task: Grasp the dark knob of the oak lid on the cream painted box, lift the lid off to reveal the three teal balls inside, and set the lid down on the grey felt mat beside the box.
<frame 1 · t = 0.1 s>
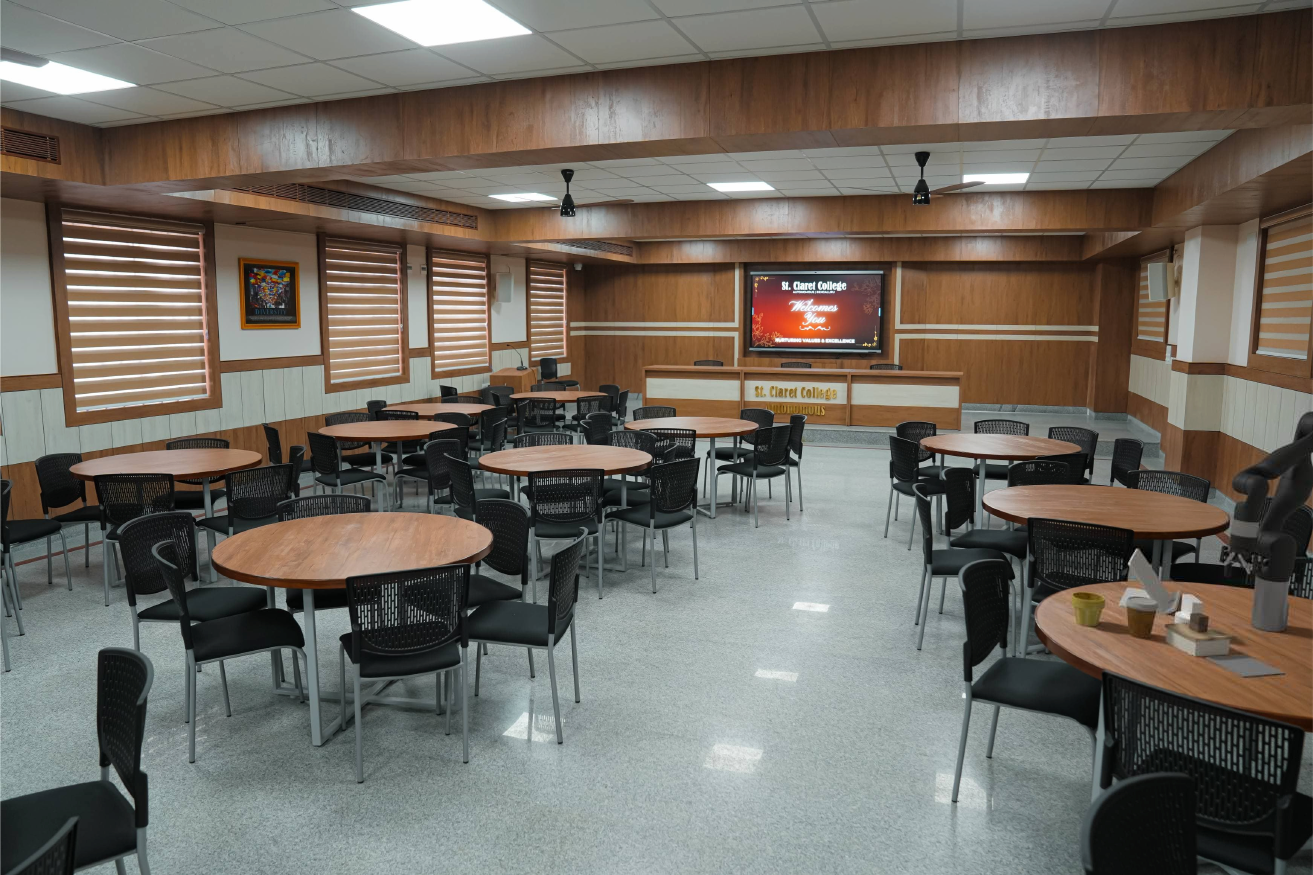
hand: (1238, 580, 284), 17 cm above the table, tool pointing down, fingers open, 8 cm apart
ball 2: (1185, 638, 272), point 3 cm above the table, touching box
lid: (1197, 632, 271), point 5 cm above the table, touching box
ball 1: (1198, 636, 274), point 3 cm above the table, touching box
mat: (1244, 666, 257), on the table
box: (1196, 647, 271), on the table
ball 3: (1204, 643, 268), point 3 cm above the table, touching box
disposable coffee cup: (1139, 635, 282), on the table
plant pot: (1086, 623, 293), on the table
tablet stand: (1150, 602, 315), on the table
white piece: (1189, 633, 284), on the table
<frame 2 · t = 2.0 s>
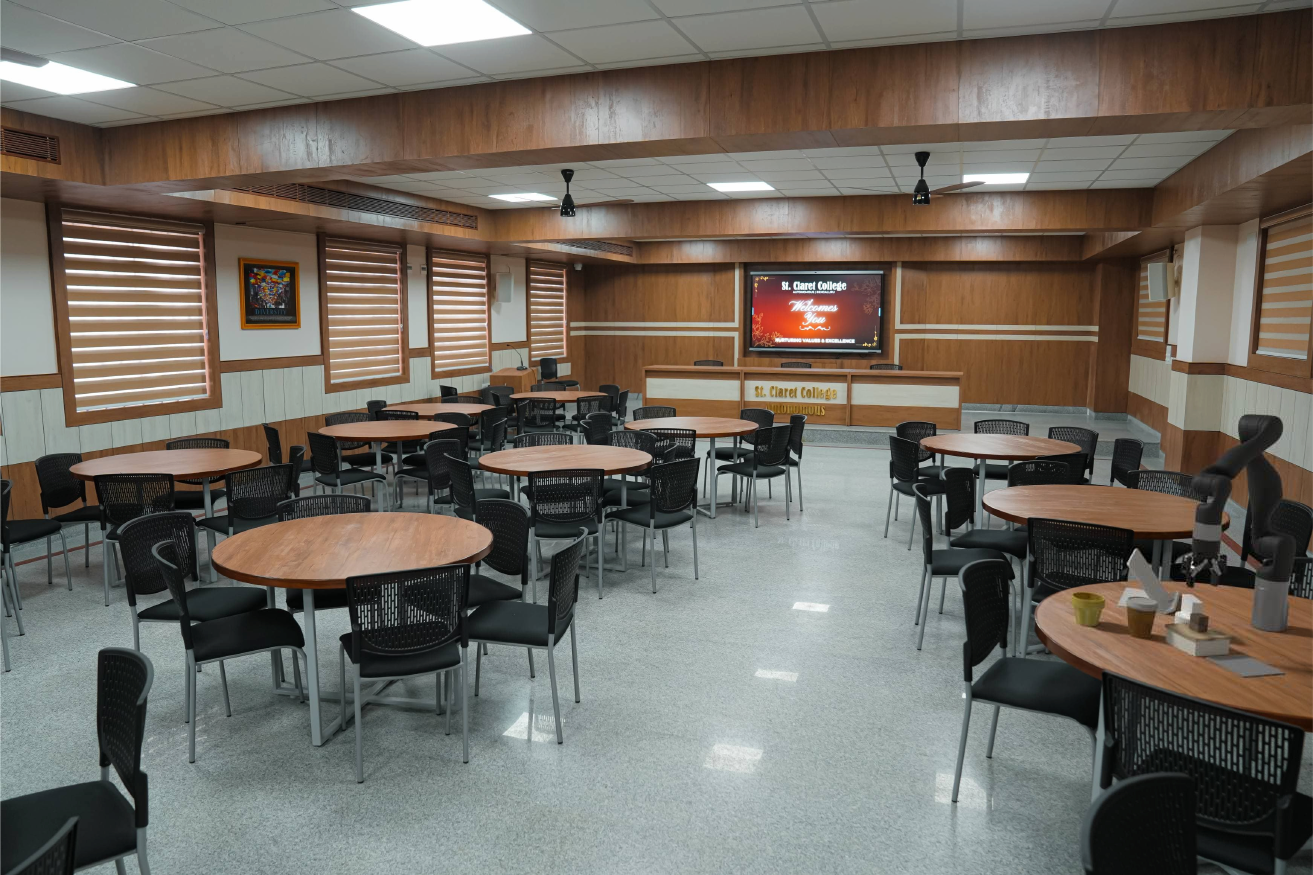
hand: (1202, 586, 268), 20 cm above the table, tool pointing down, fingers open, 8 cm apart
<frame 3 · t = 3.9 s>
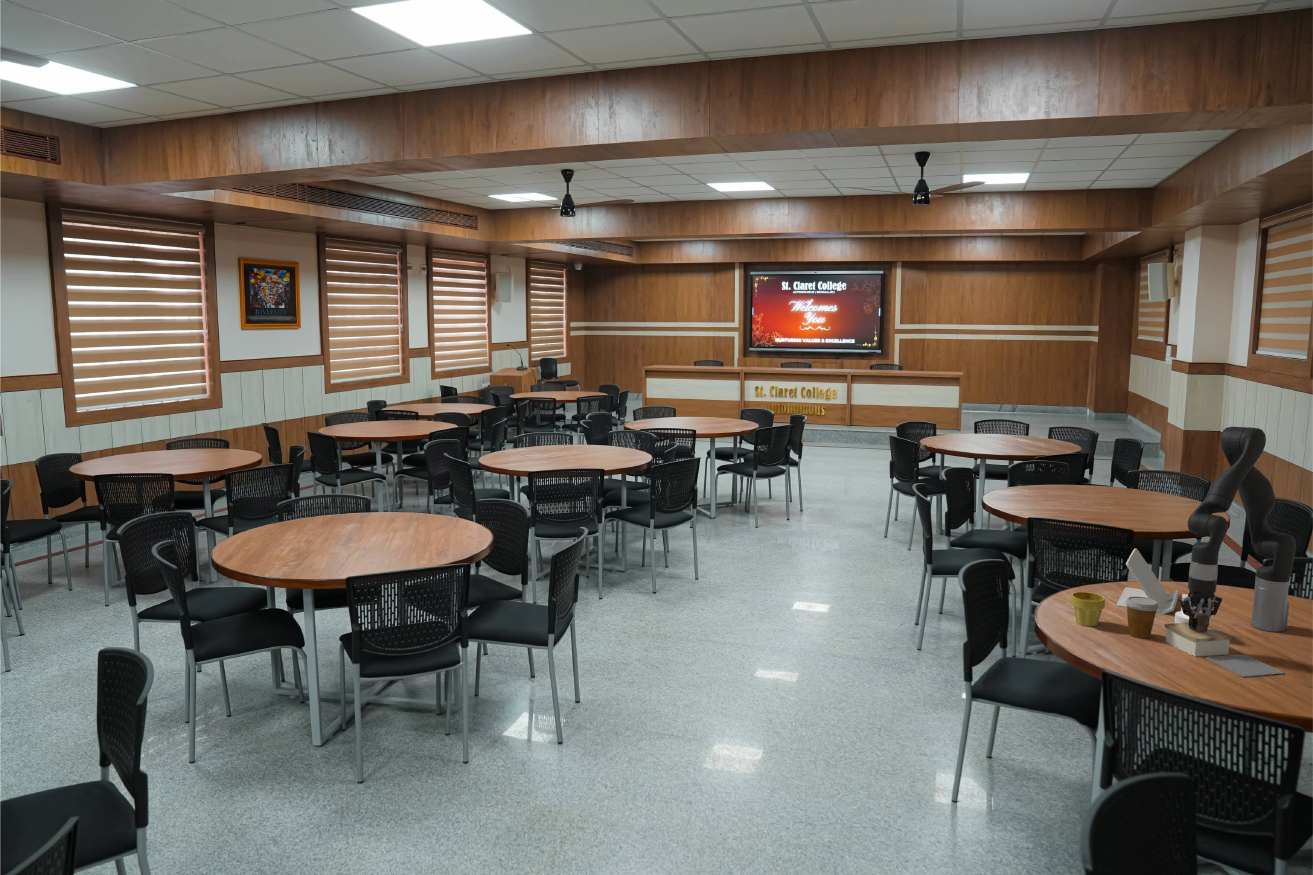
hand: (1198, 627, 270), 7 cm above the table, tool pointing down, fingers closed on lid, 3 cm apart
lid: (1197, 632, 271), point 5 cm above the table, touching box, gripper
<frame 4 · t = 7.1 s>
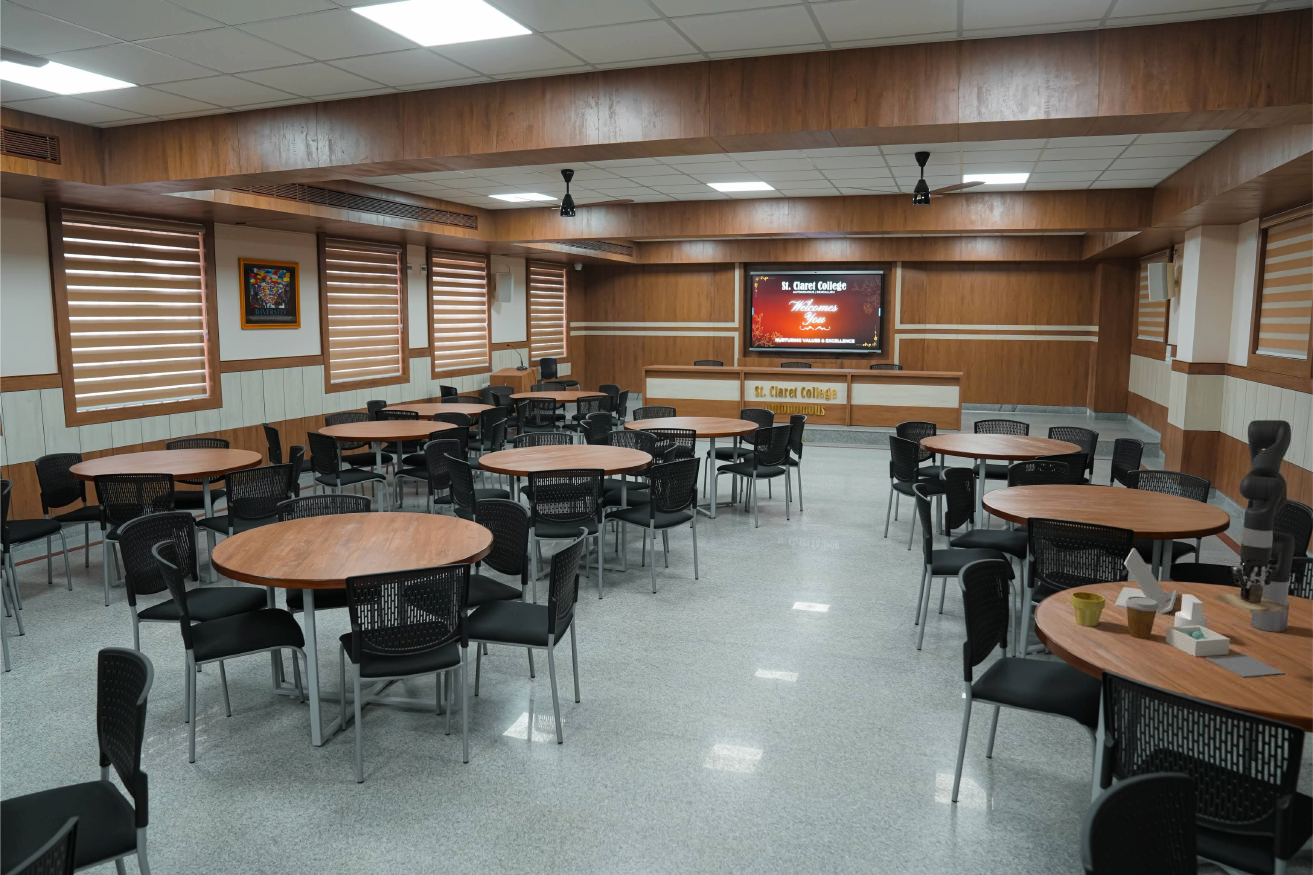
hand: (1250, 598, 254), 21 cm above the table, tool pointing down, fingers closed on lid, 3 cm apart
lid: (1250, 604, 254), point 20 cm above the table, touching gripper
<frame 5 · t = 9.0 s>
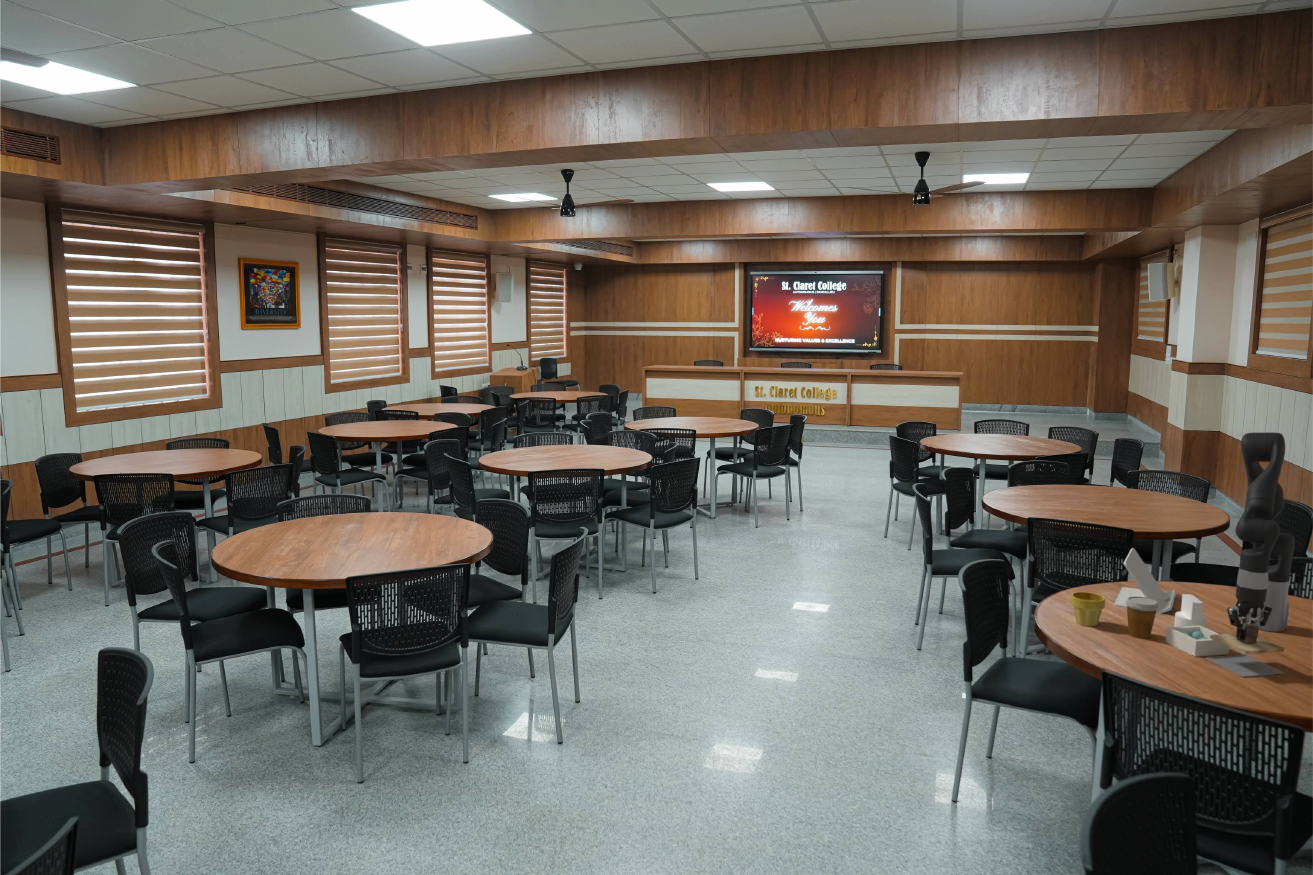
hand: (1246, 639, 256), 9 cm above the table, tool pointing down, fingers closed on lid, 3 cm apart
lid: (1246, 644, 256), point 7 cm above the table, touching gripper
when the fingers open (4 cm above the table, at t = 10.5 s): lid drops 1 cm, resting on mat.
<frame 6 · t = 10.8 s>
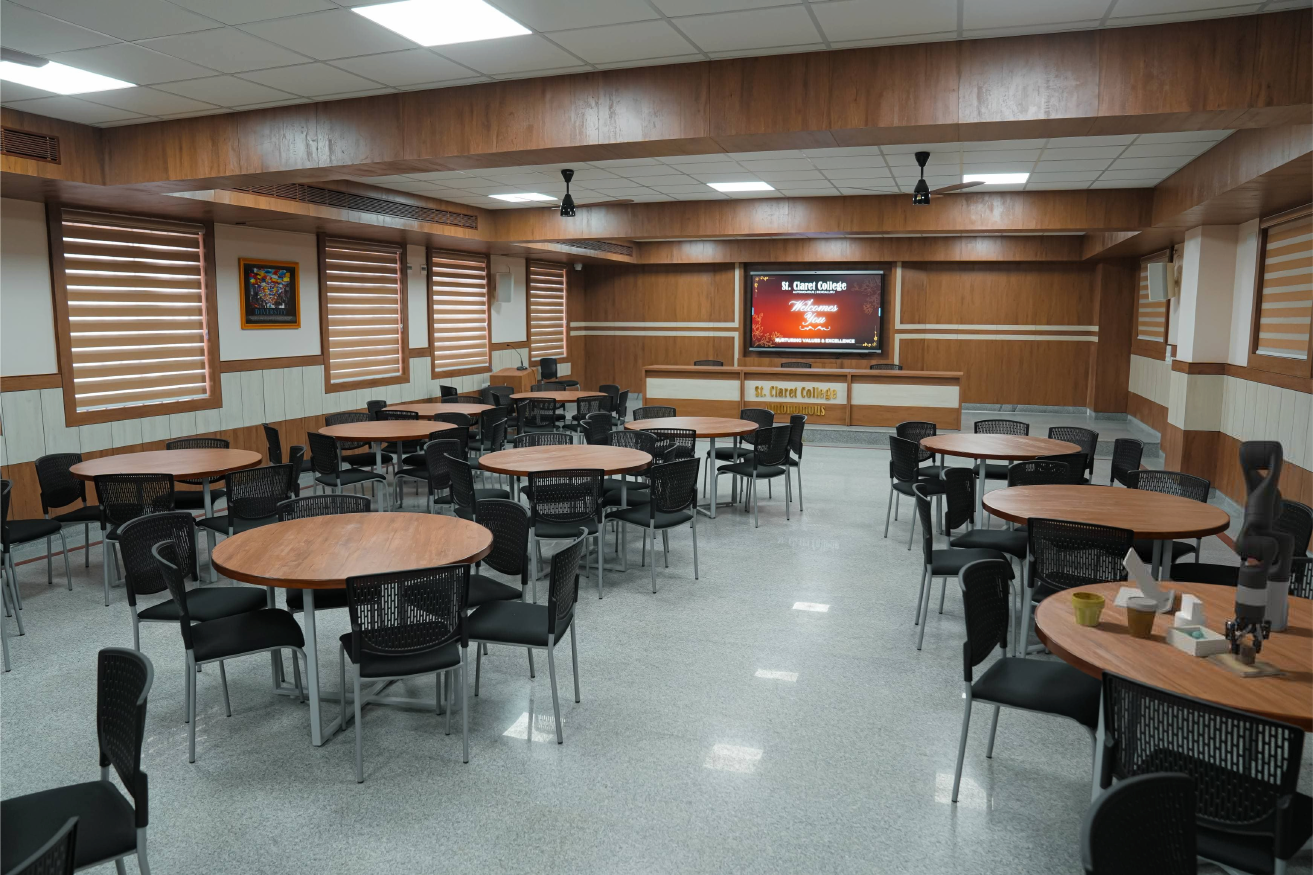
hand: (1245, 653, 257), 4 cm above the table, tool pointing down, fingers open, 6 cm apart
lid: (1244, 664, 257), resting on mat
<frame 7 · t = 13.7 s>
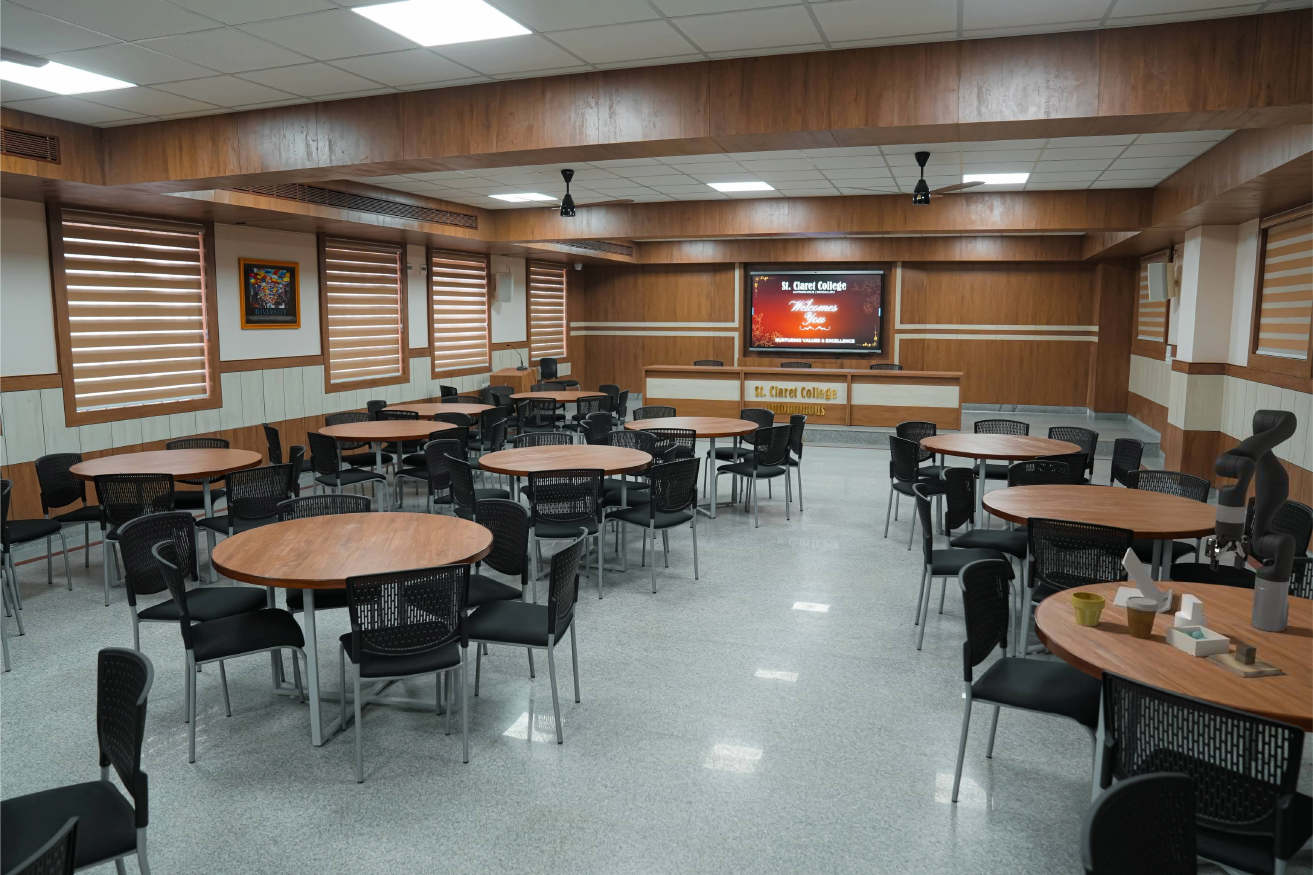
hand: (1226, 569, 266), 26 cm above the table, tool pointing down, fingers open, 8 cm apart
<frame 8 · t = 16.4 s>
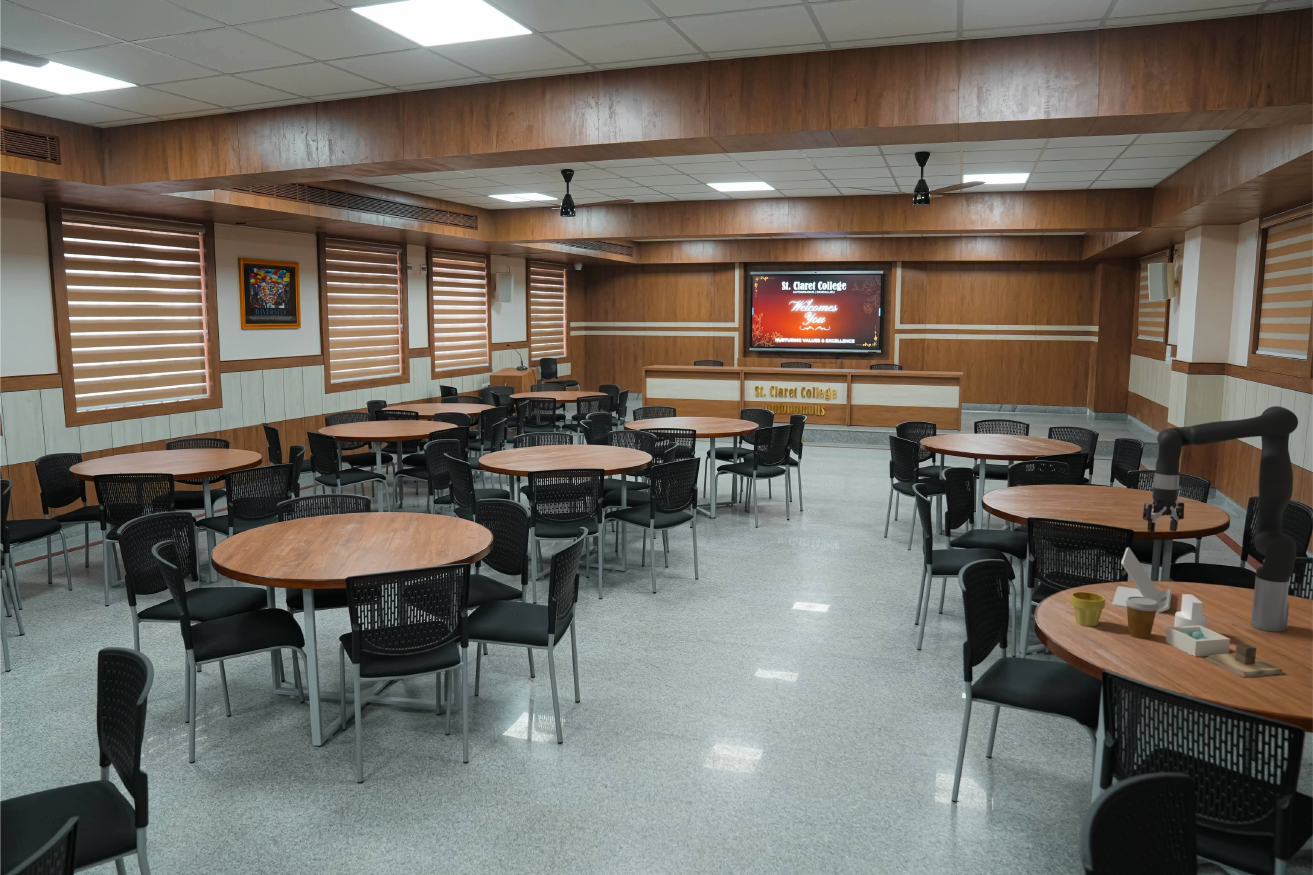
hand: (1162, 531, 298), 30 cm above the table, tool pointing down, fingers open, 8 cm apart
at the end: lid inside the target area on the mat (0.1 cm from its centre), point 0.4 cm above the mat's base; lid touching mat; the gripper is holding nothing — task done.
